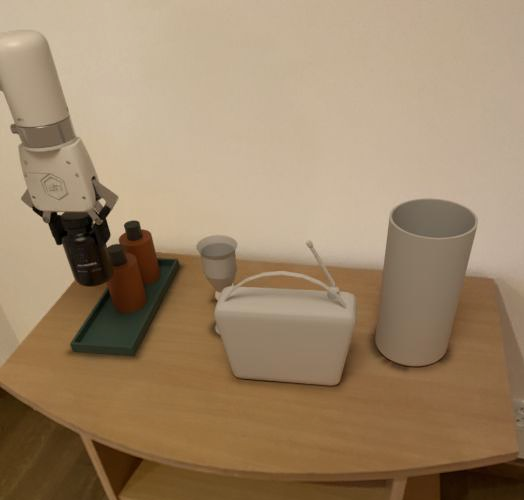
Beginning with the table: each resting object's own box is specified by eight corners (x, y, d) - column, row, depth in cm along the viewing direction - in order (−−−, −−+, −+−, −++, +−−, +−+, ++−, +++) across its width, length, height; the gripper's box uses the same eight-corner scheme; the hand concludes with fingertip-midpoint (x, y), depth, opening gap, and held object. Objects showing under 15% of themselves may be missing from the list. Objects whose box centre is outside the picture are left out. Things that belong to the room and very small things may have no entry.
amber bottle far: (123, 281, 112) (107, 227, 103) (144, 266, 116) (131, 213, 107) (146, 289, 109) (132, 235, 100) (167, 273, 113) (155, 220, 104)
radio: (352, 356, 90) (362, 229, 73) (350, 390, 84) (360, 260, 67) (232, 347, 94) (215, 225, 77) (222, 379, 88) (201, 254, 71)
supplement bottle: (89, 292, 86) (66, 229, 78) (68, 279, 90) (44, 216, 82) (122, 274, 90) (104, 212, 81) (100, 262, 93) (81, 200, 85)
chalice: (202, 329, 98) (187, 247, 86) (226, 311, 102) (215, 231, 90) (229, 343, 95) (218, 260, 83) (253, 325, 98) (246, 243, 86)
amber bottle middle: (107, 307, 105) (89, 252, 96) (130, 290, 109) (115, 236, 100) (131, 316, 102) (114, 261, 93) (154, 299, 106) (140, 244, 97)
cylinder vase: (382, 317, 98) (397, 194, 81) (449, 329, 94) (480, 203, 77) (368, 360, 89) (382, 232, 72) (442, 375, 85) (474, 244, 69)
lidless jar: (223, 307, 103) (243, 298, 105) (221, 295, 101) (242, 286, 103) (210, 295, 106) (231, 287, 108) (209, 284, 104) (229, 275, 106)
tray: (134, 356, 94) (131, 347, 92) (73, 352, 96) (69, 343, 94) (179, 266, 116) (178, 258, 114) (129, 264, 118) (127, 257, 116)
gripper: (-22, 142, 72) (25, 252, 83) (93, 141, 69) (124, 255, 81) (6, 123, 77) (46, 229, 89) (113, 122, 74) (140, 231, 86)
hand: (83, 241), depth 85 cm, fingers closed on supplement bottle, 6 cm apart
